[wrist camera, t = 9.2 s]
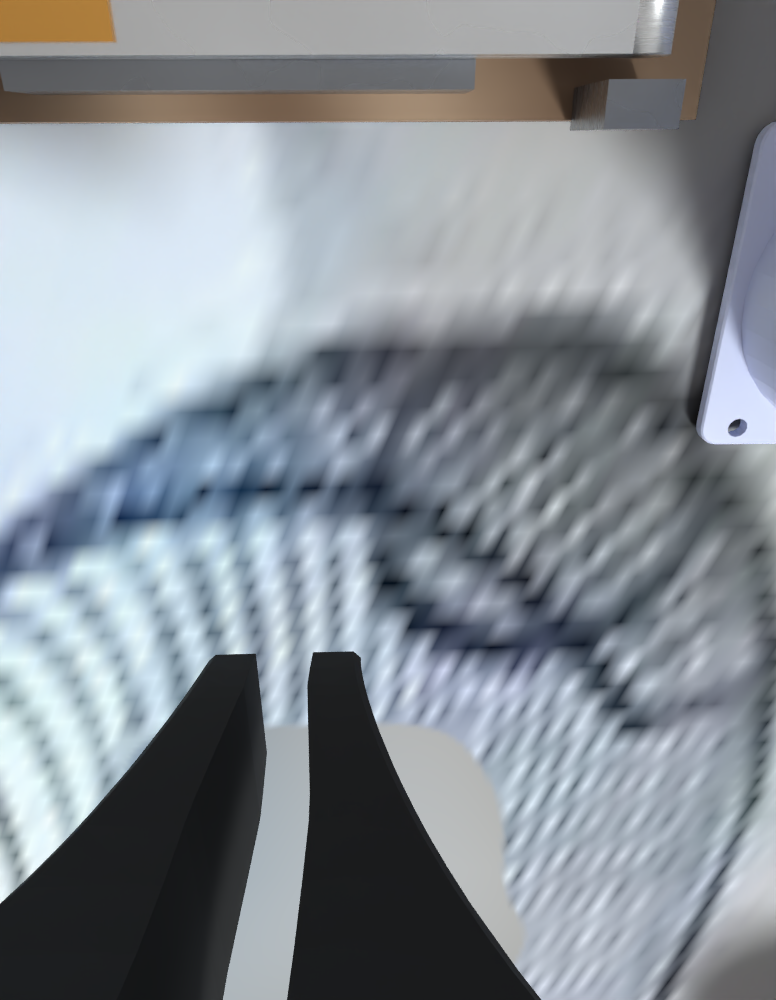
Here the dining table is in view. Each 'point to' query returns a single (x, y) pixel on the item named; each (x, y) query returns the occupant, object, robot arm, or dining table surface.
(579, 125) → the hardware
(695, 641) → the dining table surface
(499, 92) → the board
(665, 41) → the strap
